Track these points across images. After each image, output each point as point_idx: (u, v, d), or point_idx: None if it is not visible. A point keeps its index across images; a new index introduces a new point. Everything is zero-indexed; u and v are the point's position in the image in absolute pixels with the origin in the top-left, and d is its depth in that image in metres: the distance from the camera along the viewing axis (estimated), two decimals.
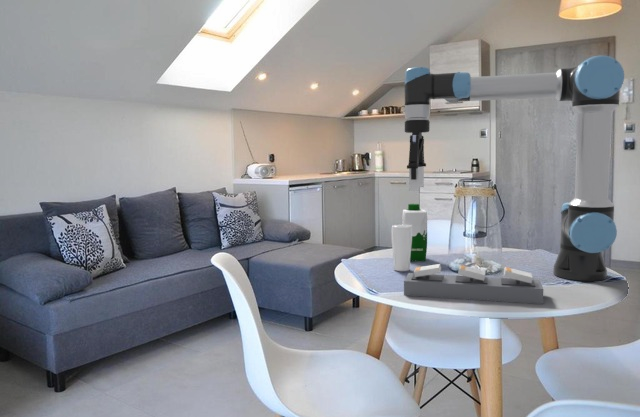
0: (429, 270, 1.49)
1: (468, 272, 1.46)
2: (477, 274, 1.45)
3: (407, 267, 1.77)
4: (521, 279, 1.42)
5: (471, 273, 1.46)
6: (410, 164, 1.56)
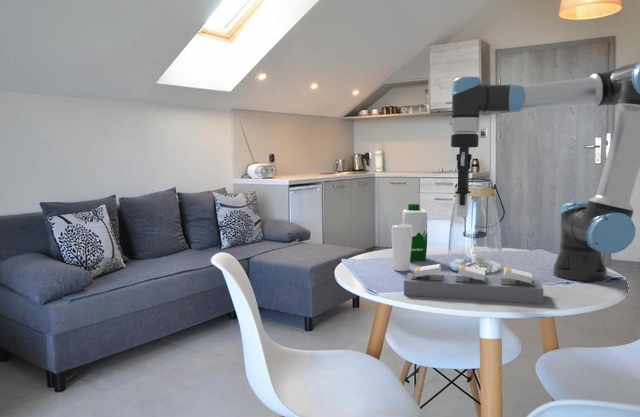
0: (429, 270, 1.49)
1: (468, 272, 1.46)
2: (477, 274, 1.45)
3: (407, 267, 1.77)
4: (521, 279, 1.42)
5: (471, 273, 1.46)
6: (459, 189, 1.50)
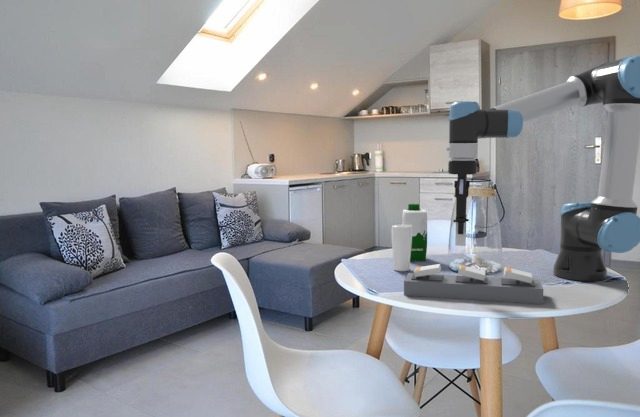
0: (429, 270, 1.49)
1: (468, 272, 1.46)
2: (477, 274, 1.45)
3: (407, 267, 1.77)
4: (521, 279, 1.42)
5: (471, 273, 1.46)
6: (458, 218, 1.44)
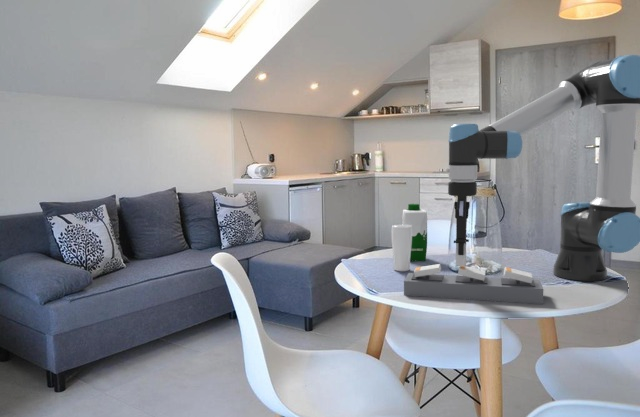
0: (429, 270, 1.49)
1: (468, 272, 1.46)
2: (477, 274, 1.45)
3: (407, 267, 1.77)
4: (521, 279, 1.42)
5: (471, 273, 1.46)
6: (458, 239, 1.45)
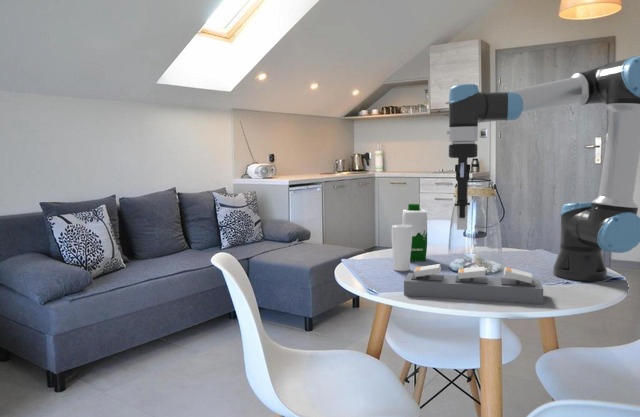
0: (429, 270, 1.49)
1: (467, 273, 1.46)
2: (476, 272, 1.45)
3: (407, 267, 1.77)
4: (521, 279, 1.42)
5: (471, 273, 1.46)
6: (459, 202, 1.43)
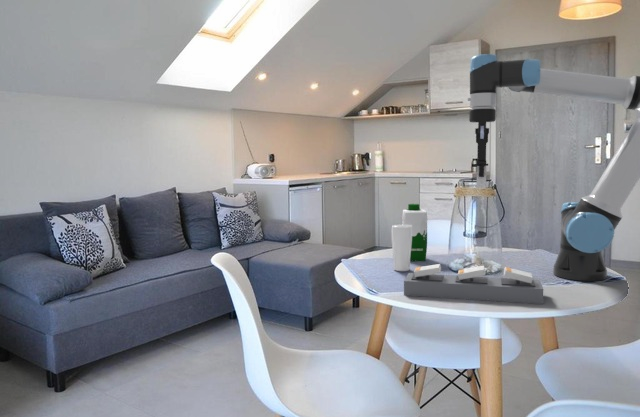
0: (429, 270, 1.49)
1: (467, 273, 1.46)
2: (476, 272, 1.45)
3: (407, 267, 1.77)
4: (521, 279, 1.42)
5: (470, 273, 1.46)
6: (479, 161, 1.58)
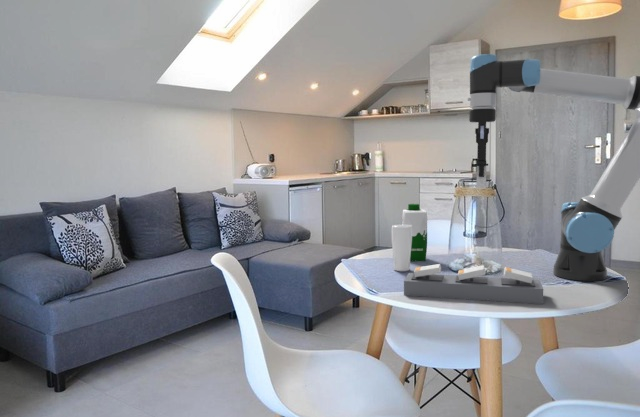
0: (429, 270, 1.49)
1: (467, 274, 1.46)
2: (476, 271, 1.45)
3: (407, 267, 1.77)
4: (521, 279, 1.42)
5: (470, 273, 1.46)
6: (479, 161, 1.58)
